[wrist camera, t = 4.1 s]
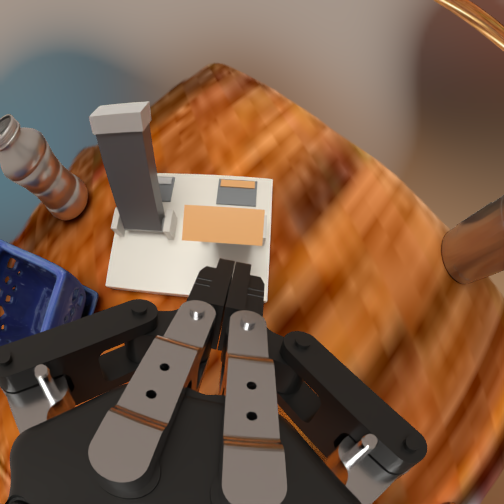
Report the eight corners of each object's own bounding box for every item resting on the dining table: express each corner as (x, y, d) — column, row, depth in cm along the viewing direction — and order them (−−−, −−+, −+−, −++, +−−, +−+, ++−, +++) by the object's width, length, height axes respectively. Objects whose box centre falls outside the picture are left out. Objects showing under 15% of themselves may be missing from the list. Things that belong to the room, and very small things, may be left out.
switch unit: (133, 180, 40) (123, 162, 36) (271, 186, 41) (274, 167, 36) (111, 288, 36) (95, 281, 31) (265, 303, 36) (269, 297, 31)
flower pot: (44, 260, 36) (-5, 233, 25) (112, 290, 36) (66, 268, 24) (20, 341, 32) (-34, 335, 21) (85, 382, 32) (33, 392, 20)
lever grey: (129, 221, 36) (99, 105, 24) (168, 223, 36) (149, 101, 24) (124, 234, 35) (88, 116, 22) (164, 237, 35) (140, 112, 22)
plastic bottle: (100, 198, 39) (31, 111, 20) (72, 233, 38) (-14, 163, 18) (77, 179, 40) (13, 97, 21) (51, 211, 38) (-26, 142, 19)
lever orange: (212, 218, 36) (184, 204, 20) (256, 221, 36) (264, 209, 20) (210, 237, 36) (181, 240, 20) (255, 240, 36) (262, 245, 20)
